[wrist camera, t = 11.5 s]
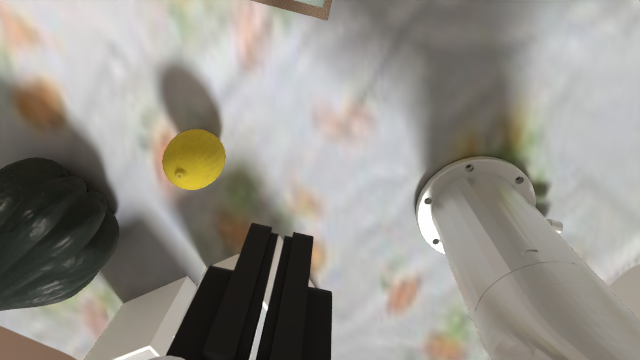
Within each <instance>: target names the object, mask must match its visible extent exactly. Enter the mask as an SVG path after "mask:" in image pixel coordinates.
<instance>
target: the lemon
mask: <svg viewBox="0 0 640 360" xmlns="http://www.w3.org/2000/svg"><path fill="white" fill-rule="evenodd" d="M225 158H226V156H225V150H224V147H223V145H222V143H221V141H220V140H219V139H218V138H217V137H216V136H215V135H214V134H212V133H210V132H209V131H205V130H202V129H192V130H187V131H184V132H182V133H180V134H178V135H177V136H176V137H175V138H174V139H172V140H171V141H170V143H169V144H168V146H167V148H166V150H165V152H164V155H163V160H162V162H163V169H164V172H165V175H166V176H167V178H168V179H169V180H170V181H171V182H172V183H173V184H174V185H176V186H177V187H180V188H182V189H187V190H197V189H200V188H203V187H206V186H207V185H209V184H210V183H212V182H213V181H215V179H216V178H217V177H218V176H219V175H220V174H221V172H222V170H223V167H224V165H225Z"/></svg>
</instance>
